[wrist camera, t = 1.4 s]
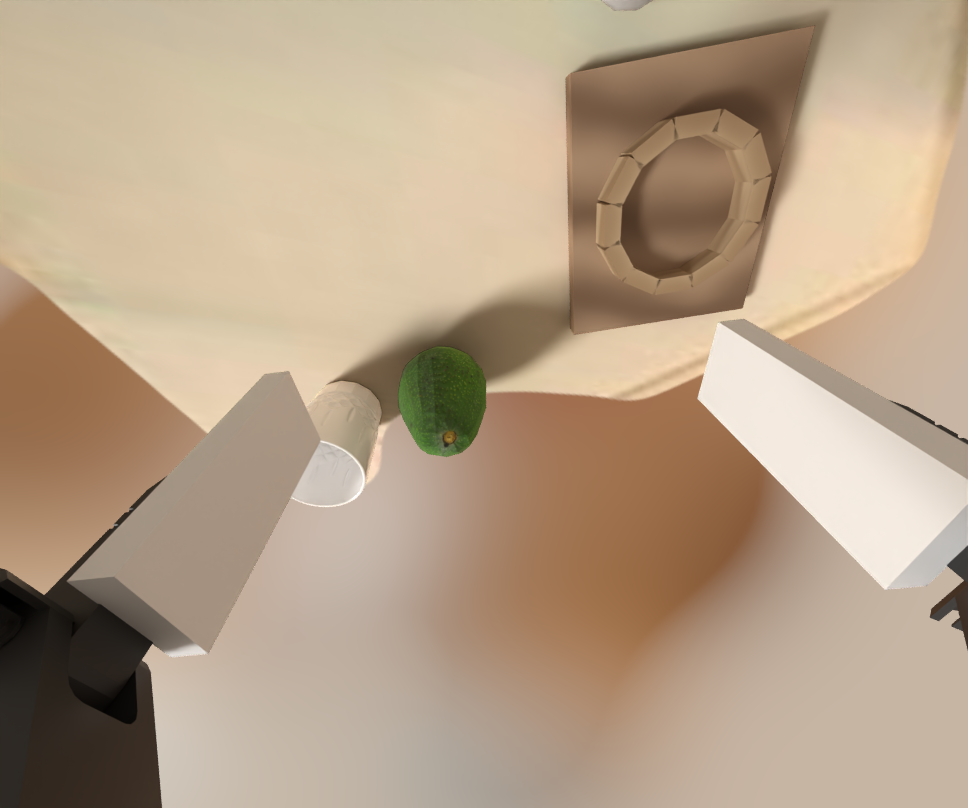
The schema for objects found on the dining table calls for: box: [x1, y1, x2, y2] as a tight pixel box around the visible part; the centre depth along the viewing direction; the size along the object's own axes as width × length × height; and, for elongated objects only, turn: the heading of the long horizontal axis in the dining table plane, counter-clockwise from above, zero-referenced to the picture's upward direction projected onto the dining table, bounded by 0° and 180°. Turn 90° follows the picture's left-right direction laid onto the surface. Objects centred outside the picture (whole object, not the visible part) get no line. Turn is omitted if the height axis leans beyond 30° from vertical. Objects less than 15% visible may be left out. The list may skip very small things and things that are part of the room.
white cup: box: [291, 381, 382, 507], centre depth 34 cm, size 8×8×10 cm
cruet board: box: [566, 26, 815, 335], centre depth 27 cm, size 18×15×4 cm
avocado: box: [398, 346, 486, 457], centre depth 31 cm, size 8×8×12 cm
